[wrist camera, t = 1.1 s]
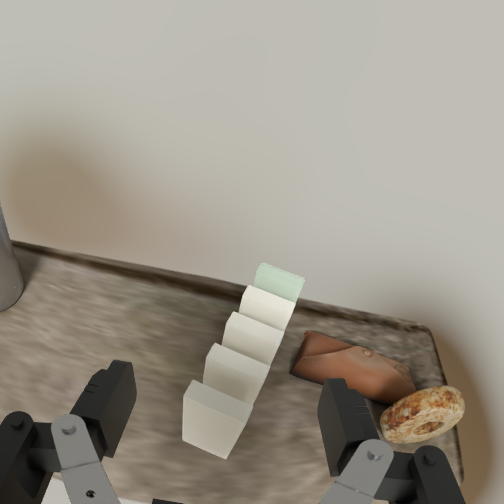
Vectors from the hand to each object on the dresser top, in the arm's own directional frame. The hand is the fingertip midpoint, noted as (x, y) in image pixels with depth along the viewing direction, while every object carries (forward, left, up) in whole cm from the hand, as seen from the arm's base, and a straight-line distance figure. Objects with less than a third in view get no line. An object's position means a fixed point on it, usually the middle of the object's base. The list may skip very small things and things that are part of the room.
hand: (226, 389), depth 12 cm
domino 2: (-1, +16, -22) cm, 27 cm away
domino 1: (-1, +20, -22) cm, 30 cm away
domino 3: (-1, +12, -22) cm, 25 cm away
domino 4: (-1, +8, -22) cm, 24 cm away
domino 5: (-1, +4, -22) cm, 23 cm away
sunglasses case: (+13, +21, -23) cm, 34 cm away
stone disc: (+21, +13, -23) cm, 34 cm away
